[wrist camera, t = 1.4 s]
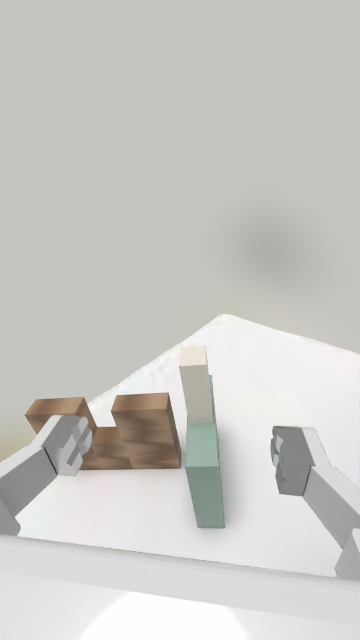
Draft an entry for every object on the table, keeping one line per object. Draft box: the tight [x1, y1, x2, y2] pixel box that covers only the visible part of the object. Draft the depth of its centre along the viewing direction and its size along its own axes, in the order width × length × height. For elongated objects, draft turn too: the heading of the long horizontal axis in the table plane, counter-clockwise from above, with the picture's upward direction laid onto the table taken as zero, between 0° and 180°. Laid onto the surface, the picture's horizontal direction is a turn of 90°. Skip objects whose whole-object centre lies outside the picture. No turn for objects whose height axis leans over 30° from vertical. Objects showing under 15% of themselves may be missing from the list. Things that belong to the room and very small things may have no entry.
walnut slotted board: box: [25, 393, 181, 470], centre depth 34 cm, size 18×2×12 cm, turn 87°
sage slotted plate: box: [179, 345, 225, 528], centre depth 28 cm, size 3×12×20 cm, turn 177°
